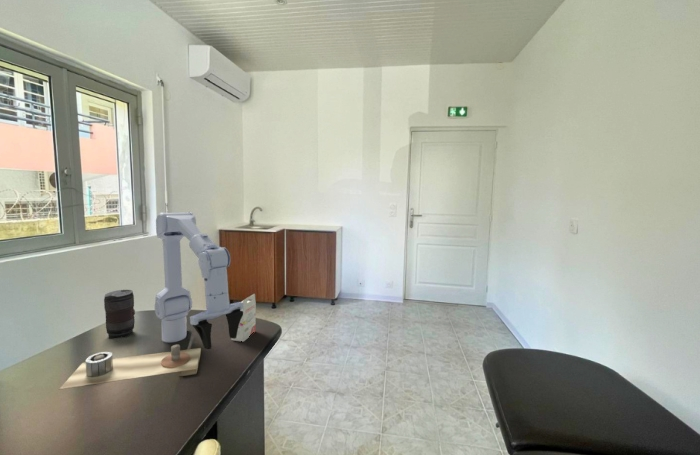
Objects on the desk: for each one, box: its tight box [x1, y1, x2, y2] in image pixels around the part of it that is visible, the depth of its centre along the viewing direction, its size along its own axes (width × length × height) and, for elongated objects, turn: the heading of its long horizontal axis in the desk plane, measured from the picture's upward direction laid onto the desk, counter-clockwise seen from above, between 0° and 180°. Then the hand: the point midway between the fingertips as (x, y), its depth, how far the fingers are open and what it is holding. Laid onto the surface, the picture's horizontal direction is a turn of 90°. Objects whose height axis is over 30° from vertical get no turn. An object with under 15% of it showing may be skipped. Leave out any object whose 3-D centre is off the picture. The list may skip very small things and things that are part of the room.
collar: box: [84, 351, 114, 377], centre depth 81 cm, size 5×5×4 cm
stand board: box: [59, 344, 202, 390], centre depth 84 cm, size 12×30×6 cm, turn 111°
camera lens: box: [103, 289, 136, 340], centre depth 103 cm, size 8×8×15 cm
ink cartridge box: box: [230, 293, 257, 343], centre depth 107 cm, size 9×5×15 cm, turn 168°
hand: (220, 342), depth 81 cm, fingers open, 7 cm apart
